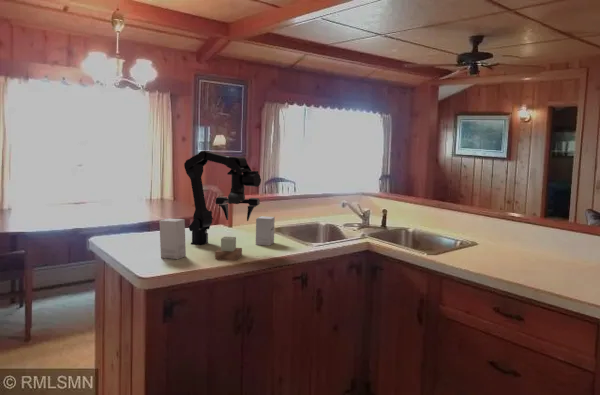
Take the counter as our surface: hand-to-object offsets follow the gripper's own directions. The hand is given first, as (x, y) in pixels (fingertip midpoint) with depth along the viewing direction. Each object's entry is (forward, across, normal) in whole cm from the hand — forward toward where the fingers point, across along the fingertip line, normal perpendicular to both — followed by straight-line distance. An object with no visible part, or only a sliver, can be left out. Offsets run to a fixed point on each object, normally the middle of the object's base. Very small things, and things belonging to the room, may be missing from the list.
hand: (237, 220), depth 205 cm
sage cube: (+10, 0, -15) cm, 18 cm away
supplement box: (+13, +10, +14) cm, 22 cm away
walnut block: (+13, 0, -15) cm, 20 cm away
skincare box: (+13, -22, -20) cm, 32 cm away
